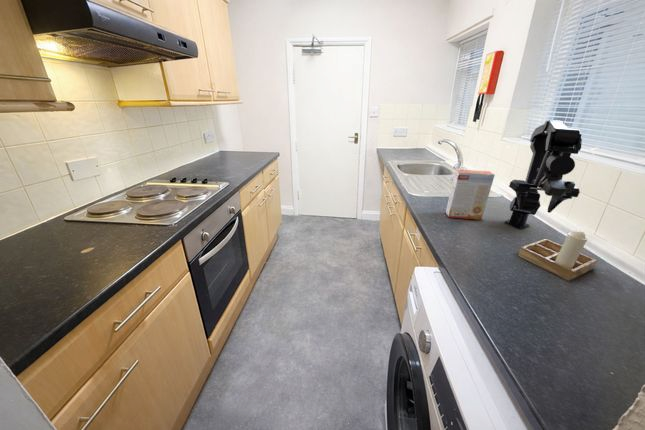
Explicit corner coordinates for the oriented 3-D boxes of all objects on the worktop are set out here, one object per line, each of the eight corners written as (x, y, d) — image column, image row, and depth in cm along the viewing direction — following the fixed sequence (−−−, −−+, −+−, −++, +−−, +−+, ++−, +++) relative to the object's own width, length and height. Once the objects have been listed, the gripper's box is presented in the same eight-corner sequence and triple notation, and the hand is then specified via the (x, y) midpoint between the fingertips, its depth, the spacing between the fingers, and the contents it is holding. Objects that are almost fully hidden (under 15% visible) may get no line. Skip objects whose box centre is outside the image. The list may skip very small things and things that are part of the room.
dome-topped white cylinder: (552, 263, 87) (570, 226, 81) (570, 268, 84) (589, 231, 78) (552, 269, 84) (570, 231, 78) (570, 275, 81) (590, 236, 75)
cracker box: (476, 215, 121) (490, 170, 113) (481, 220, 116) (496, 174, 107) (444, 212, 124) (455, 168, 115) (447, 217, 118) (459, 172, 109)
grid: (542, 246, 97) (545, 238, 96) (592, 268, 85) (597, 260, 84) (517, 255, 91) (521, 247, 90) (568, 280, 79) (573, 271, 78)
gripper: (530, 171, 82) (514, 216, 89) (601, 177, 79) (578, 223, 85) (515, 163, 92) (501, 204, 99) (577, 168, 89) (559, 210, 95)
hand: (533, 210), depth 94 cm, fingers open, 9 cm apart
